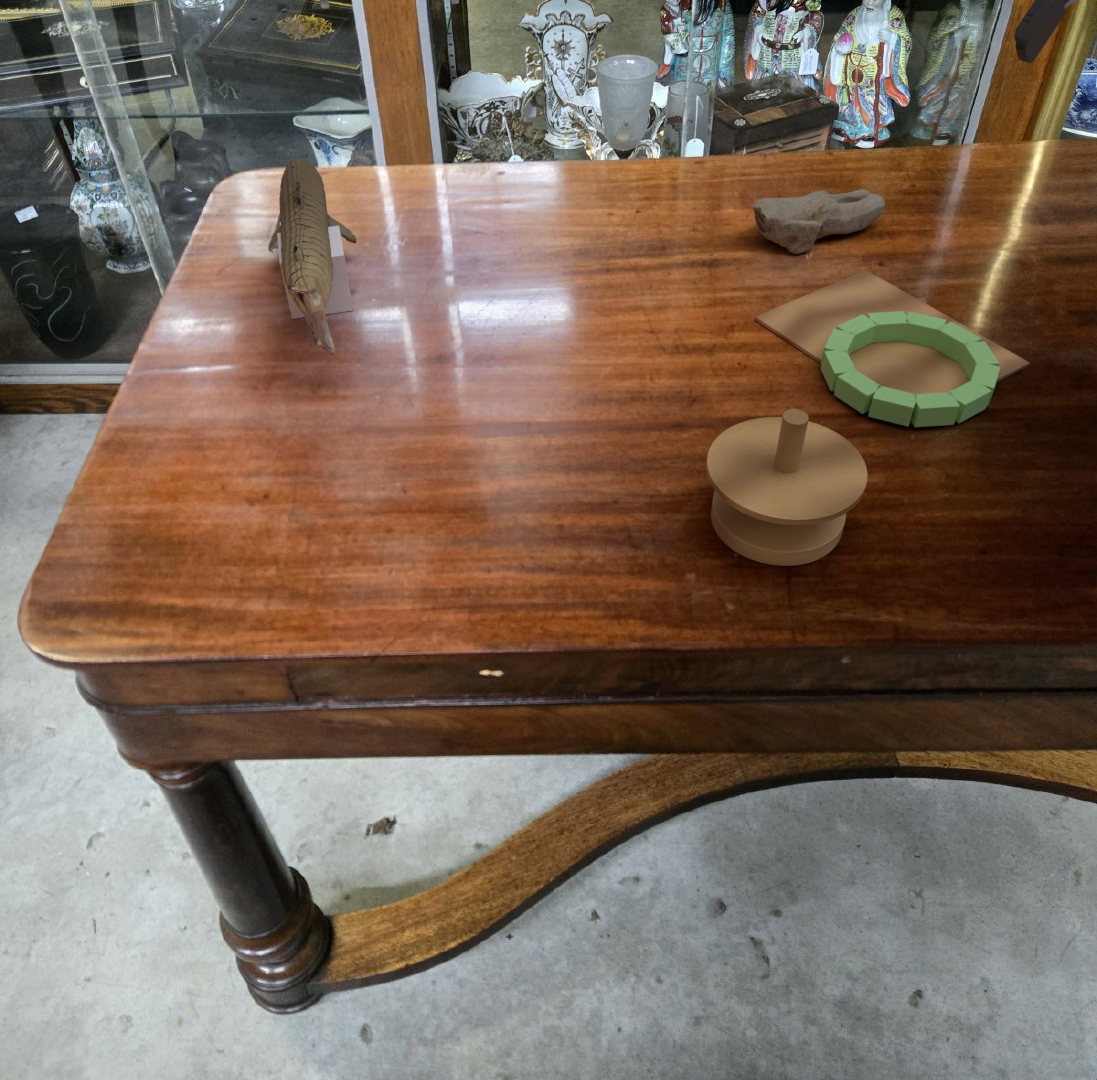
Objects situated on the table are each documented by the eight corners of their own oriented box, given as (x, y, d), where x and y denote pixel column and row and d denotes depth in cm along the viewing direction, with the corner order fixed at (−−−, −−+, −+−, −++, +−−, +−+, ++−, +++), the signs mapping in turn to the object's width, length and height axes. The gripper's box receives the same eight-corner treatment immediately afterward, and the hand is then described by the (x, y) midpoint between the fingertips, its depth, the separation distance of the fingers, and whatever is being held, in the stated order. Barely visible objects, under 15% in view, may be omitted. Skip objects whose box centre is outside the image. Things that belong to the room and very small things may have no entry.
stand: (885, 532, 79) (916, 428, 72) (771, 597, 74) (792, 493, 67) (780, 452, 86) (798, 350, 79) (670, 507, 81) (679, 404, 74)
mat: (1028, 366, 94) (1030, 362, 93) (913, 425, 88) (914, 421, 88) (865, 273, 106) (865, 269, 105) (754, 319, 100) (754, 316, 100)
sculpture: (845, 211, 117) (733, 230, 112) (858, 171, 113) (742, 188, 108) (884, 243, 112) (769, 264, 107) (899, 201, 109) (780, 221, 104)
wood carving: (284, 423, 90) (256, 311, 82) (270, 231, 114) (248, 131, 106) (387, 408, 91) (369, 296, 83) (352, 221, 115) (336, 121, 107)
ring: (1027, 386, 91) (1034, 367, 89) (913, 448, 85) (919, 429, 84) (899, 313, 100) (904, 294, 98) (788, 364, 94) (791, 346, 92)
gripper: (1135, -245, 61) (969, 9, 64) (1401, -214, 53) (1197, 73, 56) (1146, -153, 67) (994, 75, 70) (1386, -113, 59) (1203, 142, 62)
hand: (1085, 74), depth 63 cm, fingers open, 8 cm apart
